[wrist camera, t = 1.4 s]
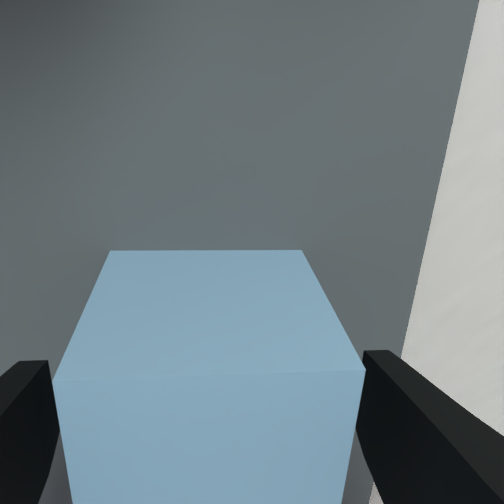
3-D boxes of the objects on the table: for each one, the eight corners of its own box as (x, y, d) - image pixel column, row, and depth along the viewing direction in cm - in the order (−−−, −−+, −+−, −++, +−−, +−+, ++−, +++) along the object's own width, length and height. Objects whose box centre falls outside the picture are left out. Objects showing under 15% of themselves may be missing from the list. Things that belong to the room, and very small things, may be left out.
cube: (286, 395, 14) (330, 560, 9) (124, 402, 13) (86, 582, 9) (301, 250, 12) (365, 369, 7) (110, 250, 11) (52, 381, 7)
